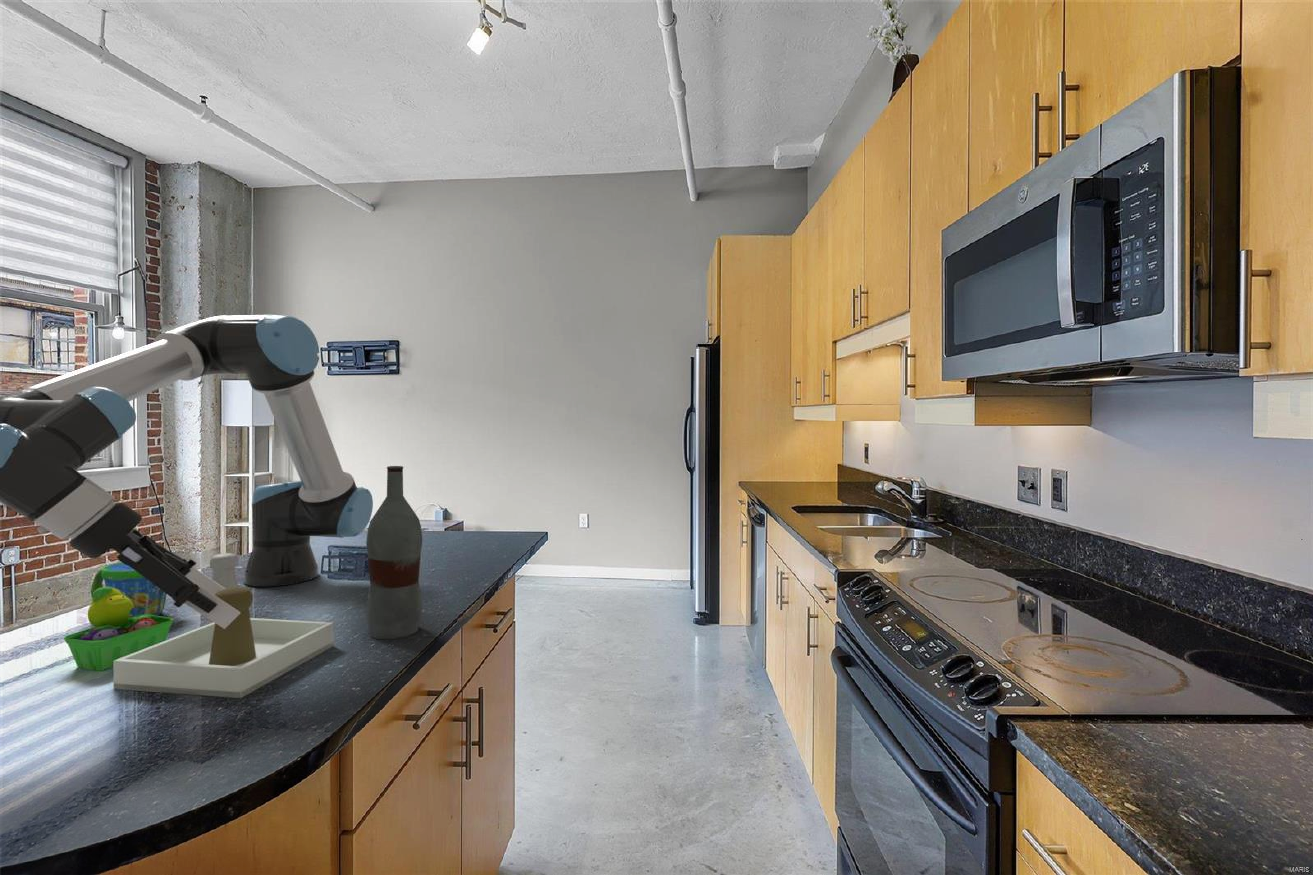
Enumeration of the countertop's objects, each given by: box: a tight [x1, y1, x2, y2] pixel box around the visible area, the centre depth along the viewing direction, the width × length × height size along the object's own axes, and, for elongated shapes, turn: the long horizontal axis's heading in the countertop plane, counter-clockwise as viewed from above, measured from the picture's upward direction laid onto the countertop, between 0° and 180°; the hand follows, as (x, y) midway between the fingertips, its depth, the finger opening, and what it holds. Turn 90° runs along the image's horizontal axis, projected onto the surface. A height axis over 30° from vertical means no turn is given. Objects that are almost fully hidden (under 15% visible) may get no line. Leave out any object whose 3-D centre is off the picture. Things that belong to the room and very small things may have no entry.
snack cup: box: [90, 561, 174, 618], centre depth 116 cm, size 16×10×10 cm
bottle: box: [365, 465, 423, 640], centre depth 109 cm, size 9×9×30 cm
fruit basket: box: [63, 586, 174, 672], centre depth 96 cm, size 11×9×11 cm
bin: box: [112, 617, 335, 699], centre depth 94 cm, size 20×20×4 cm
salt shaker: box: [205, 552, 239, 624], centre depth 112 cm, size 6×6×13 cm
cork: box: [209, 586, 256, 666], centre depth 94 cm, size 6×6×11 cm
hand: (227, 609), depth 93 cm, fingers open, 13 cm apart
